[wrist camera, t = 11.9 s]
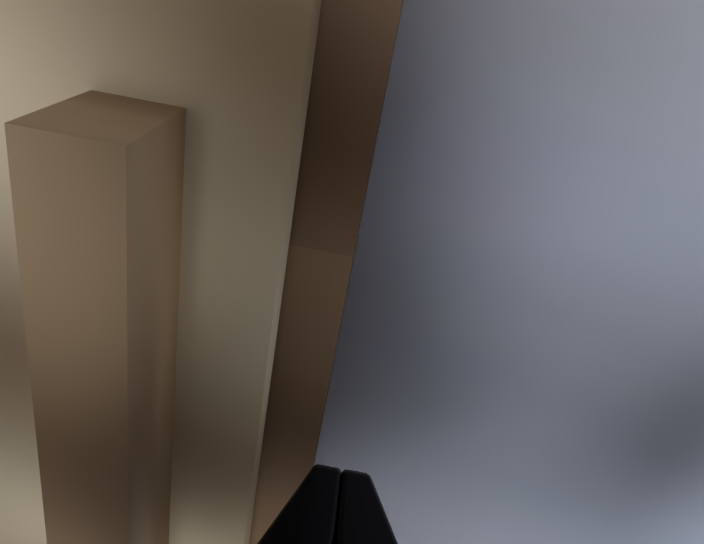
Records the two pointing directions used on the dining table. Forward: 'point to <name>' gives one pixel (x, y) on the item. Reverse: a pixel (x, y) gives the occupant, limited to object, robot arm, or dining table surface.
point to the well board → (323, 237)
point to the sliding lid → (143, 260)
